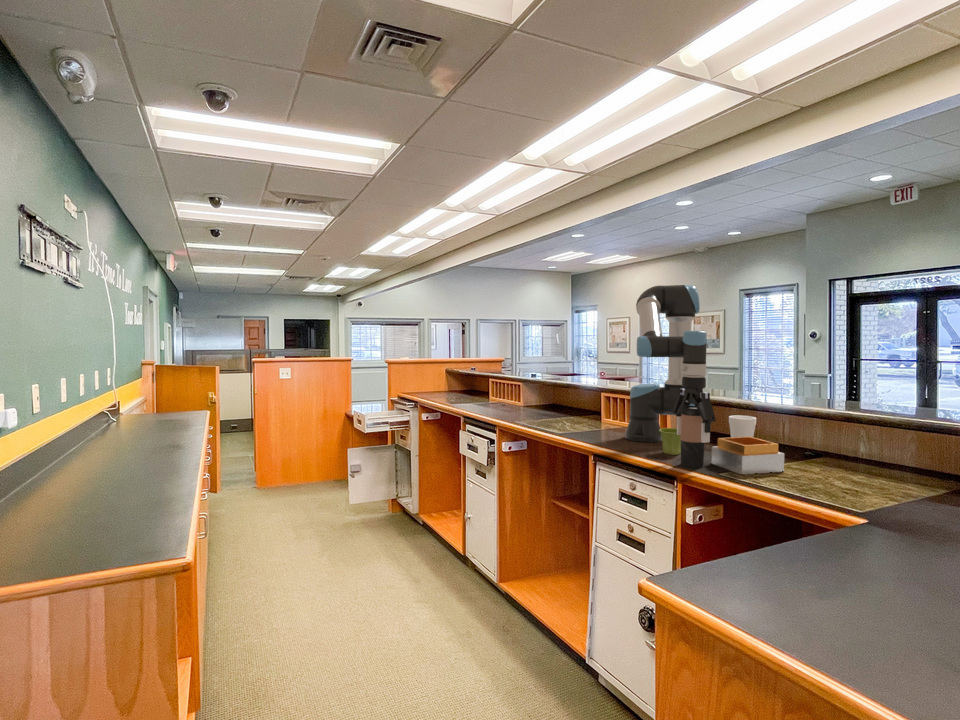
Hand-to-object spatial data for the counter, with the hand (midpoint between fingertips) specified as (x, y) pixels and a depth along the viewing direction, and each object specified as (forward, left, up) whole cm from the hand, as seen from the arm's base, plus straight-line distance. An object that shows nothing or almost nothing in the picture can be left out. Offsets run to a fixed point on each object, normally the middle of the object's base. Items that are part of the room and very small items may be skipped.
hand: (692, 438), depth 186 cm
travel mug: (0, 0, -10) cm, 10 cm away
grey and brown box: (+7, +19, -9) cm, 22 cm away
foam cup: (-15, +32, -10) cm, 37 cm away
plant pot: (-18, +4, -10) cm, 21 cm away
